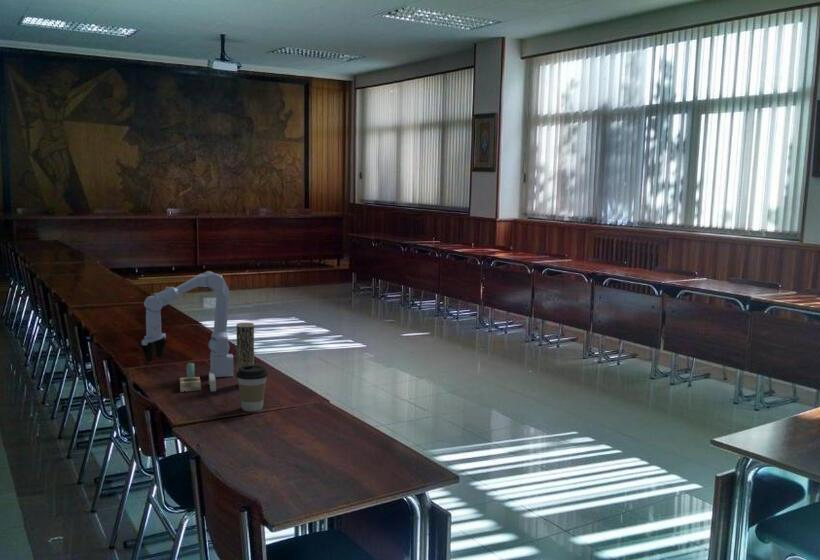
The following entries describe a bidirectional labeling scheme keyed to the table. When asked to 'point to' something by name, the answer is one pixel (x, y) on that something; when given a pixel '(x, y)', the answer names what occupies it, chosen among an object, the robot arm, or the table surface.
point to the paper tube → (245, 345)
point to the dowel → (190, 370)
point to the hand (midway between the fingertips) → (154, 359)
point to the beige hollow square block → (190, 384)
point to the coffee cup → (252, 387)
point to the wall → (212, 382)
